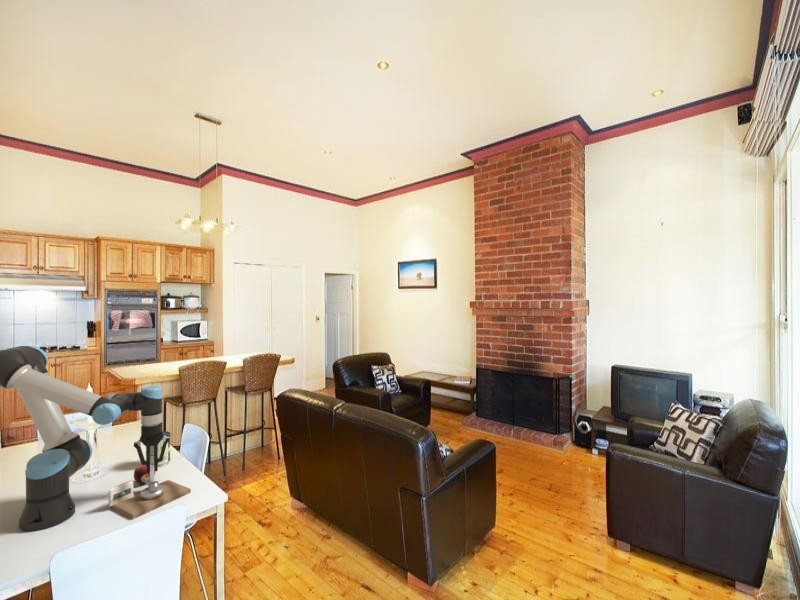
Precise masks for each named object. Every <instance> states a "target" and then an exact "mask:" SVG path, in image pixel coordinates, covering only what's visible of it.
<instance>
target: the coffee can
mask: <svg viewBox="0 0 800 600" xmlns="http://www.w3.org/2000/svg"><path fill="white" fill-rule="evenodd" d="M162 432H163V434H164V436H166V437H168V436H169V438H170V440H169V441H168V443H167V445H166V449H165V452H164V456H163V460H162V461H161V462H159V463H158V468H161V467H164V466H167V465H168V464H170V463H171V432H170V431H166V430H165V431H164V430H162ZM162 446H163V438H162V440H161V441H160V442H159V444H158V445H157V454H158V458H159V457H160V453H161V450H162ZM145 461H147V449H146V448H145ZM150 463H154V446H150Z"/></svg>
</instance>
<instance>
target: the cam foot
mask: <svg viewBox="0 0 800 600" xmlns="http://www.w3.org/2000/svg"><path fill="white" fill-rule="evenodd" d="M141 481H142V482H145V484H146V486H147V487H145V488H143V489H142V490H140V491H141V492H140V491H139V492H140V498H141V499H143V500H150V499H154V498H157V497H159V496H161V495H162V494H163V493H164V486H161V485H158V484H159V481H158V480H153V481H152V480H151V479H150V476H149V475H148V474H145V475H143V476H142V478H141Z"/></svg>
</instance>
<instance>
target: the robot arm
mask: <svg viewBox="0 0 800 600" xmlns="http://www.w3.org/2000/svg"><path fill="white" fill-rule="evenodd" d="M48 363H49V358H48V355H47V353H46V352H45V351H44V350H43V349H42V348H41V347H40V348H39V347H37V346H34V345H20V346H15V347H11V348H6V349H0V387H2V388H4V389H6V390H15V389H16V390H17V392H18V394H19V396H20V398H21V399H22V402H23V404H24V406H25V408H26V410H27V412H28V414H29V416H30V418H31V419H32V421H33V424H34V426H35V427H36V430H37V431H38V434H39V436H40V438H41V439H42V441H43V443H44V445H43V447H42V449H41V451H42V452H40V453H37V454H35V455H34V456H32V457H31V458H30V459H29V460H28V461H27V462H26V467H25V505H24V508H23V510H22V513H21V514H20V518H19V521H18V528H19V530H21V531H23V532H34V531H40V530H45V529H48V528H51V527H54V526H57V525H59V524H61V523H64V522H66V521H68V520H69V519H71V517H73V516H74V515H75V514H76V504H75V501H74V500H73V498H72V495H71V493H70V478H71V477H72V476H74V474H76V473H77V472H79V470H81V469H83V467H85V466H86V464H88V462H89V461H90V460H91V458H92V455H93V447H92V445H91V443H90V441H88V440H86V439H84V438H82V437H81V436H80V433H78V432H73V431H72V429H71V427H70V425H69V423H68V421H67V419H66V416H65V415H64V413H63V411H62V409H61V407H60V406H63V407H65V408H68V409H71V410H73V411H76V412H79V413H81V414H84V415H87V416H90V417H91V418H92V420H93V421H94V422H95V423H96V424H97V425H101V426H104V425H108V424H111V423H113V422H116V421H117V420H118V419H119V418H120V417H121V416H124V414H126V413H128V412H139V411H140V425H141V426H140V434H141V435H140V437H139V440H137V441H134V443H133V447H134V448H135V449H136V452H137V455H138V458H139V461H140V464H141V465H146V466H147V473H150V479H151V480H152V481H155V476H154V472H155V473H156V472H158V468H159V467H158V463H159V462H161V461H162V460H163V456H164V452H165V449H166V445H167V443H168V441H169V440H170V441H171V437H170V438H169V436H168V437H166V436H164V434H163V432H162V431H163V398H164V397H163V389H162V387H161V386H159V385H147V386H144V387H143V386H142V388H140V391H139V392H137V391H136V392H125V393H124V392H123V393H122V392H117V393H111V394H108V395H107V396H106V397H105V396H102V395H99V394H97V393H94V392H92V391H89V390H87V389H84V388H81V387H79V386H76V385H74V384H71V383H68V382H66V381H63V380H61V379H58V378H56V377H53V376H51V375H48V374H49V371H48V369H47V365H48ZM162 438H163V446H162V450H161V453H160V457H159V458H158V454H157V445H158V444H159V442H160V441H161V440H162ZM141 443H142V444H141ZM141 445H143V446H145V450H146V449H147V461H146V458H145V456H144V453H143V450H142V447H141ZM150 446H154V463H150Z"/></svg>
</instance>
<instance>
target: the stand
mask: <svg viewBox="0 0 800 600" xmlns="http://www.w3.org/2000/svg"><path fill="white" fill-rule="evenodd" d="M134 483H135V481H128V482H126V483H124V484H120V485H118V486H115V487H114V488H110V489H109V490H108V506H109V507H110V508H111V509H113V510H115V511H117V512H119V513H120V514H122V515H124V516H126V517H128V518H130V519H132V520H134V519H136V518H139V517H142V516H144V515H145V514H147V513H150V512H152V511H154V510H157V509H158V508H160V507H162V506H164V505H167V504H168V503H171V502H174V501H176V500H178V499H179V498H182V497H184V496H186V495H188V494H191V492H192V491H191V490H192V488H190V487H187V486H185V485H182V484H180V483H177V482H175V481H172V480H169V479H167V480H165V481H162V482H160V483H159V482H158V485H161V486H164V493H163V494H162V495H161V496H159V497H157V498H154V499H150V500H143V499H141V498H140V492H141V491H142V490H140V491H137V492H135V493H134Z"/></svg>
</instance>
